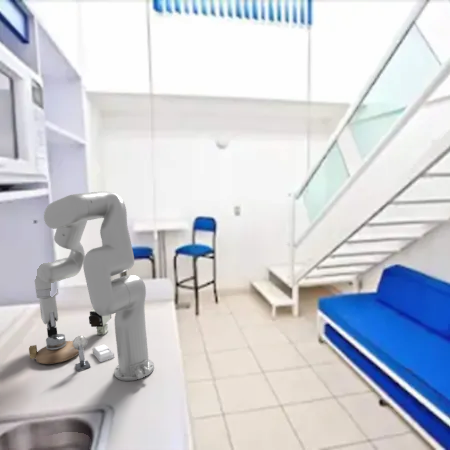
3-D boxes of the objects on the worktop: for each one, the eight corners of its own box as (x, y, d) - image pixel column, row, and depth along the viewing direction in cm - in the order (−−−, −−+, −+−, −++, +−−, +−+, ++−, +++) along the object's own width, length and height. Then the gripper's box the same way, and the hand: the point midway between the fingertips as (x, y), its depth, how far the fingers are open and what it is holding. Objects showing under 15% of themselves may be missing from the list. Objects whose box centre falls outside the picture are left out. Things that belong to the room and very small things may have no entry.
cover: (68, 346, 138) (67, 337, 137) (48, 352, 134) (46, 343, 133) (64, 340, 143) (63, 331, 143) (45, 345, 140) (43, 336, 139)
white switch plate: (106, 349, 139) (105, 343, 139) (114, 358, 132) (113, 351, 132) (92, 353, 137) (92, 347, 136) (100, 363, 129) (99, 355, 129)
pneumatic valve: (113, 327, 159) (111, 300, 157) (102, 339, 148) (99, 310, 146) (101, 327, 160) (98, 300, 158) (88, 339, 148) (85, 310, 147)
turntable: (83, 341, 144) (82, 331, 144) (78, 359, 130) (76, 348, 129) (36, 348, 141) (34, 338, 140) (25, 367, 126) (23, 356, 126)
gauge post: (91, 367, 126) (87, 336, 125) (77, 371, 124) (73, 340, 122) (88, 362, 130) (84, 332, 128) (74, 366, 127) (71, 336, 126)
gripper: (33, 289, 146) (39, 334, 149) (39, 298, 134) (45, 347, 136) (54, 285, 150) (59, 328, 153) (61, 294, 138) (67, 341, 140)
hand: (52, 337), depth 144 cm, fingers closed
